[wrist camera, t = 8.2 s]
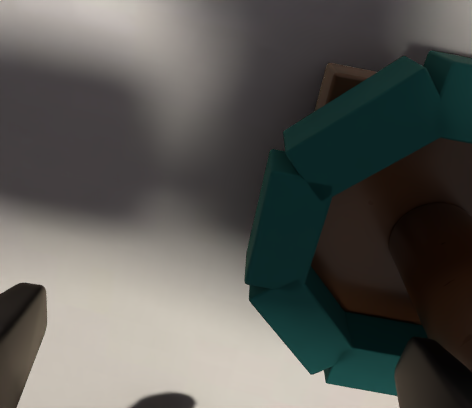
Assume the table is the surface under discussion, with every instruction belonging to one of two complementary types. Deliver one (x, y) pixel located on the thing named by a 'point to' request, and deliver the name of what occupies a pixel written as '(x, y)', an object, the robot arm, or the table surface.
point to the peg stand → (403, 237)
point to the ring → (318, 201)
